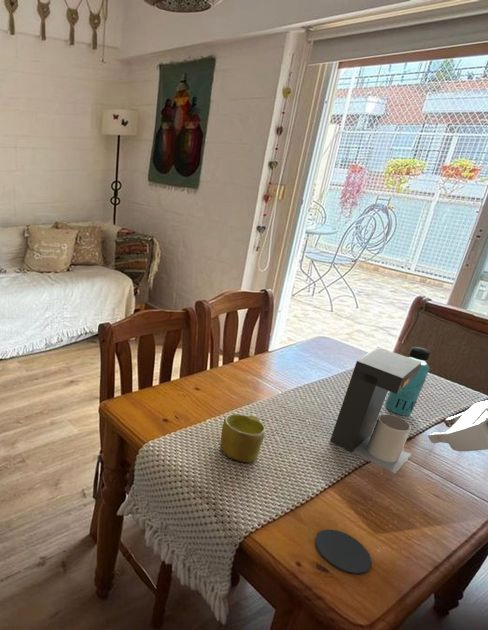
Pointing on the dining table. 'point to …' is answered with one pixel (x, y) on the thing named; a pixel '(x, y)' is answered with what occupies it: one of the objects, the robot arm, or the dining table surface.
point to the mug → (242, 437)
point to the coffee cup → (388, 437)
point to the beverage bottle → (410, 386)
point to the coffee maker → (372, 401)
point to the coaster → (343, 551)
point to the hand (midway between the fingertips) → (438, 430)
